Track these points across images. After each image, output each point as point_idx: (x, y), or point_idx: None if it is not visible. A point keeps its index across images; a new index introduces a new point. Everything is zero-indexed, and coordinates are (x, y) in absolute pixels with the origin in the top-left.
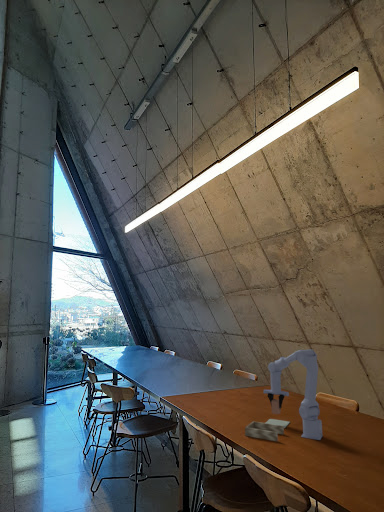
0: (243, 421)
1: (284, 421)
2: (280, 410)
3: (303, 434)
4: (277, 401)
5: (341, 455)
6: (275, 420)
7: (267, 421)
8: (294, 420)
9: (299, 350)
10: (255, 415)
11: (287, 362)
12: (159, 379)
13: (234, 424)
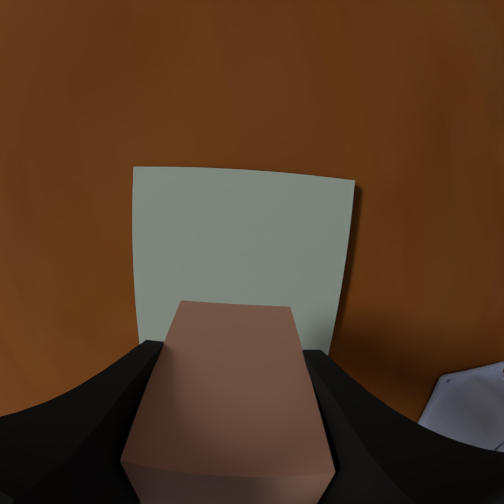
0: (5, 310)
1: (302, 198)
2: (294, 322)
3: (427, 426)
4: None
5: None
6: (203, 203)
7: (140, 276)
8: (373, 81)
9: None
10: (13, 108)
11: None
12: None
13: (11, 380)
